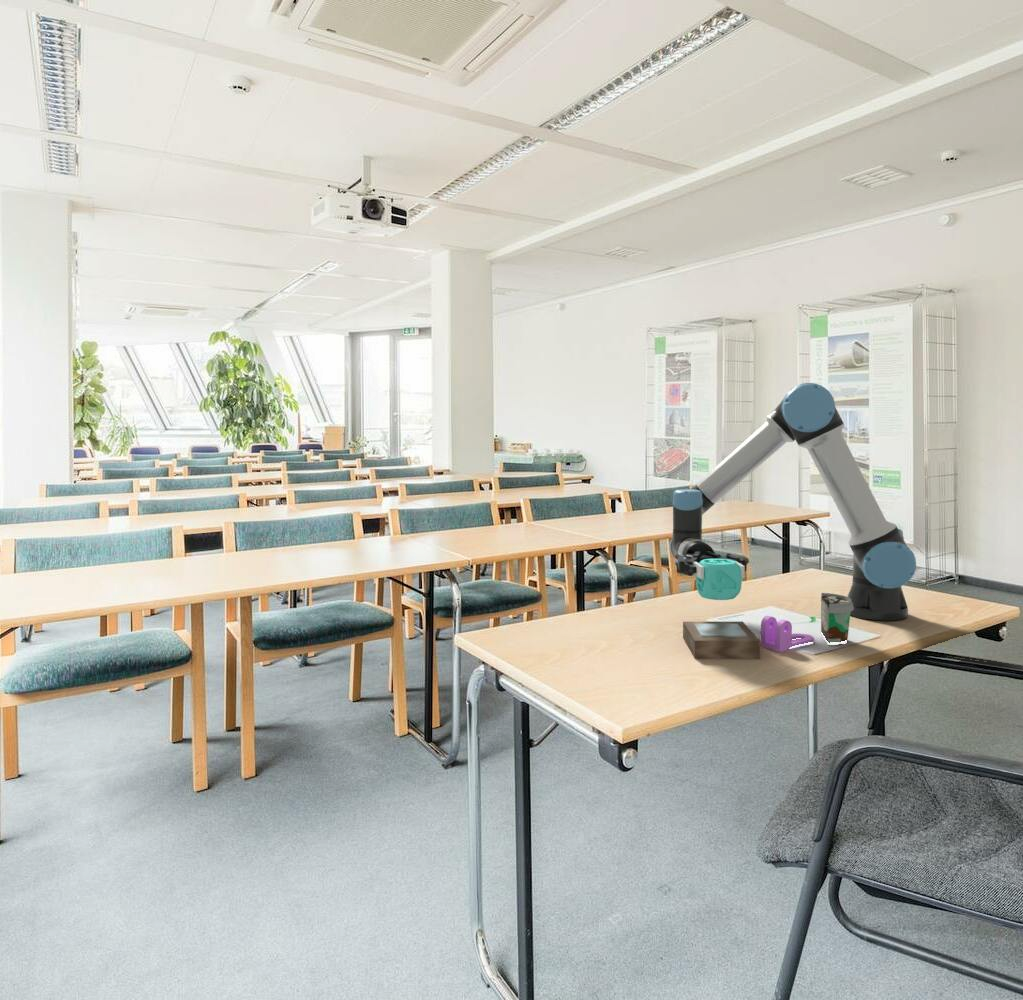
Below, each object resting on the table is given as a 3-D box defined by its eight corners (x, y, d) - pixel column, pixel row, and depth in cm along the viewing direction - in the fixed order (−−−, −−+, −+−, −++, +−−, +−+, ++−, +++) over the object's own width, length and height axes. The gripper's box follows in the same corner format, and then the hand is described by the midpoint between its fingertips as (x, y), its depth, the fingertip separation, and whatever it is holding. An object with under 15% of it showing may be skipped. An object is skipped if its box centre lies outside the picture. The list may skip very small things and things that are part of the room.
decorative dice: (741, 599, 168) (742, 564, 168) (706, 600, 168) (707, 565, 167) (728, 591, 176) (729, 557, 176) (695, 592, 176) (695, 558, 175)
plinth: (742, 638, 180) (742, 620, 180) (760, 658, 164) (760, 639, 164) (682, 637, 181) (683, 620, 181) (694, 658, 165) (694, 639, 165)
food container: (857, 649, 170) (859, 605, 169) (828, 647, 172) (829, 604, 171) (847, 634, 182) (848, 593, 181) (820, 632, 184) (821, 592, 183)
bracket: (779, 652, 169) (780, 622, 168) (760, 646, 174) (761, 616, 173) (819, 643, 175) (819, 614, 174) (799, 637, 180) (800, 609, 179)
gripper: (738, 569, 191) (769, 588, 169) (654, 570, 191) (674, 590, 169) (738, 539, 191) (770, 555, 168) (654, 541, 190) (675, 556, 168)
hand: (722, 572), depth 168 cm, fingers closed on decorative dice, 8 cm apart
